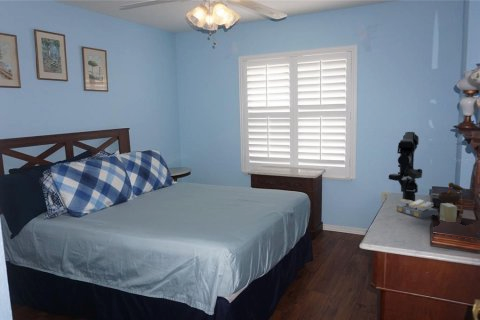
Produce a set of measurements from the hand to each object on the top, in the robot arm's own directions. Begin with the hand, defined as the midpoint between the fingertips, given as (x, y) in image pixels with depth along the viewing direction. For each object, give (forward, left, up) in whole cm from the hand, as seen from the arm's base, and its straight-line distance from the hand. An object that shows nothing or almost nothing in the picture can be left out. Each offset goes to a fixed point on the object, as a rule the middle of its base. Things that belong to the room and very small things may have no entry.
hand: (404, 191), depth 199 cm
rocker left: (0, +3, -6) cm, 7 cm away
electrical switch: (+8, +19, -12) cm, 24 cm away
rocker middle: (+6, +3, -6) cm, 9 cm away
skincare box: (+33, -8, -12) cm, 35 cm away
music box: (+23, +5, -12) cm, 26 cm away
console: (+6, +3, -11) cm, 13 cm away
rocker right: (+11, +3, -6) cm, 13 cm away
